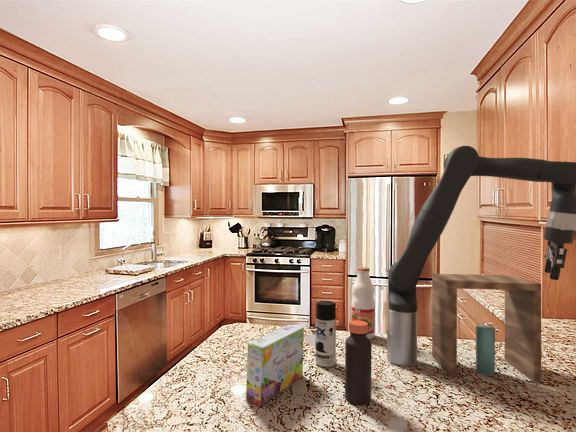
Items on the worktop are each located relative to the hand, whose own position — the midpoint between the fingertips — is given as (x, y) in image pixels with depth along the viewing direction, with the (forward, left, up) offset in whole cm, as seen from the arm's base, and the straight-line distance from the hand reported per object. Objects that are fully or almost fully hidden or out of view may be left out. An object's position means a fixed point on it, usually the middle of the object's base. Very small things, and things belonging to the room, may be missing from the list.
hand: (550, 276), depth 111 cm
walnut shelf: (-22, -2, -30) cm, 37 cm away
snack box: (-86, -21, -30) cm, 93 cm away
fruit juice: (-56, +26, -30) cm, 69 cm away
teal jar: (-22, -4, -30) cm, 37 cm away
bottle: (-64, -25, -30) cm, 75 cm away
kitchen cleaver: (-76, +22, -31) cm, 85 cm away
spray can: (-72, -3, -30) cm, 78 cm away
